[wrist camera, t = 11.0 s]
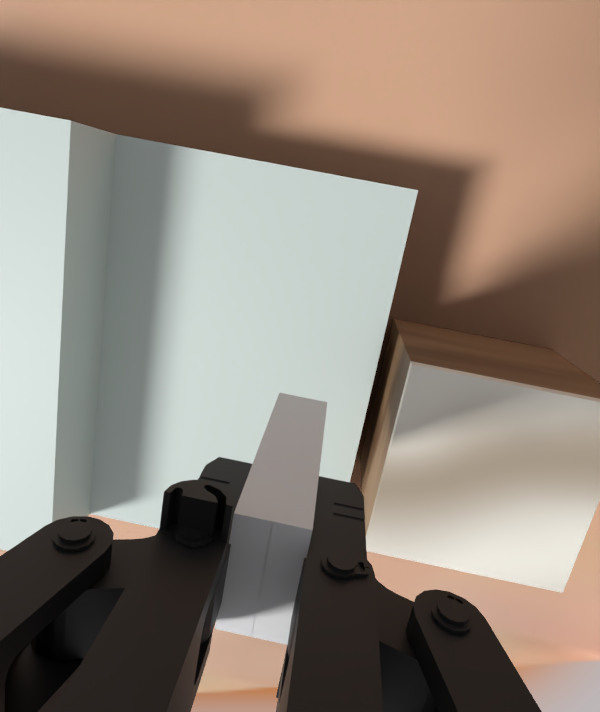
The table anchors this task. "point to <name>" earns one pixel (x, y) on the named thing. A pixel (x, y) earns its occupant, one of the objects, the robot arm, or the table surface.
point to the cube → (481, 456)
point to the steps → (174, 313)
